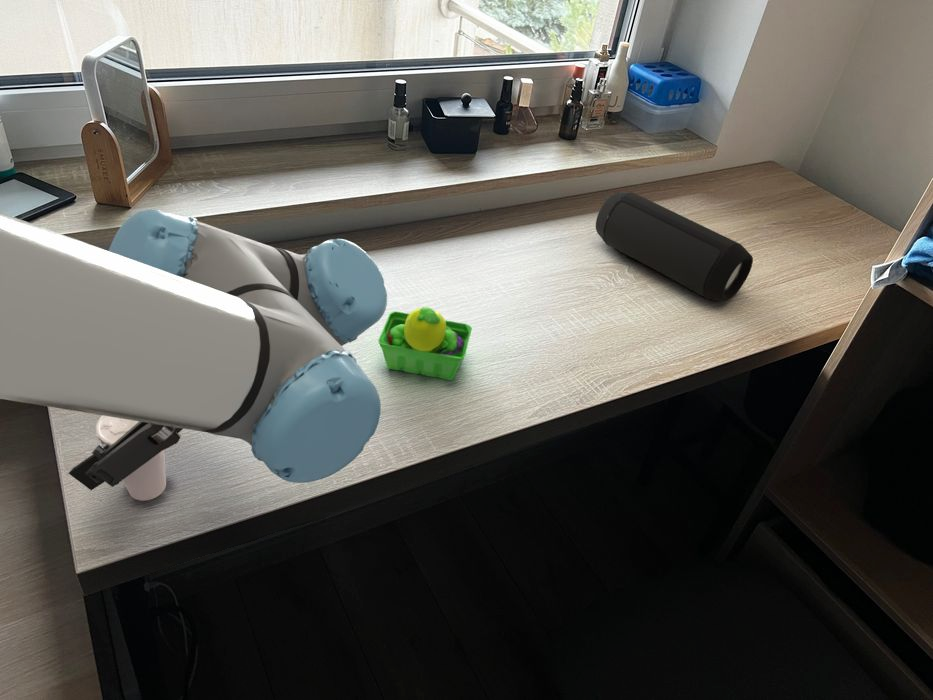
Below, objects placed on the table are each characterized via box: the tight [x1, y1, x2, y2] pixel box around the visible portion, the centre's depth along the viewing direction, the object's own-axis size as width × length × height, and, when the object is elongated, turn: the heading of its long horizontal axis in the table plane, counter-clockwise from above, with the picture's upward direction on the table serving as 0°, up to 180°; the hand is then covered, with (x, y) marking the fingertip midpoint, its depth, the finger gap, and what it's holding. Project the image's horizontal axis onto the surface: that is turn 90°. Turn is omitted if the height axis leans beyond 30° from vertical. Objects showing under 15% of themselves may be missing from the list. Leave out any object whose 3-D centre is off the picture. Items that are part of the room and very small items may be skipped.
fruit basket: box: [378, 306, 473, 381], centre depth 94 cm, size 11×9×11 cm
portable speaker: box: [595, 191, 754, 302], centre depth 121 cm, size 26×10×10 cm, turn 44°
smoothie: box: [95, 415, 167, 502], centre depth 73 cm, size 6×6×14 cm
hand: (108, 447), depth 74 cm, fingers open, 8 cm apart
